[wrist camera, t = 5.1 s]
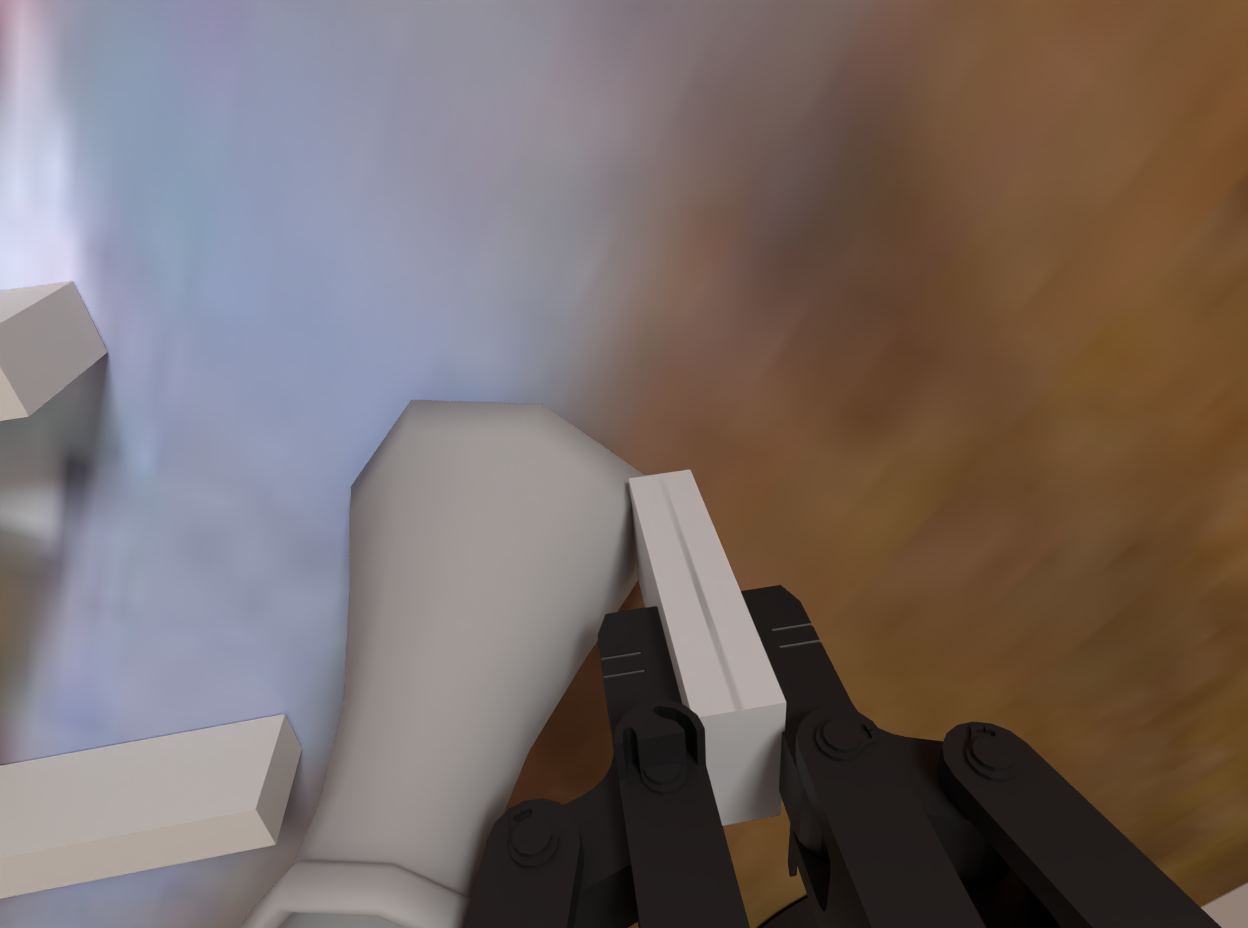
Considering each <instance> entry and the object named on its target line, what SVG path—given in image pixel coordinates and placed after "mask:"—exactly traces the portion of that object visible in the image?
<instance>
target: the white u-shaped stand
mask: <svg viewBox="0 0 1248 928" xmlns="http://www.w3.org/2000/svg"><path fill="white" fill-rule="evenodd" d="M106 353H107V350H106V348H105V346H104V344H103V342H102V340H101V338H100V336H99V334H98V332H97V330H96V328H95V326H94V324H93V321H92V319H91V317H90V315H89V313H88V311H87V309H86V307H85V305H84V303H83V301H82V299H81V297H80V295H79V293H78V291H77V289H76V287H75V285H74V283H73V281H69V282H62V283H54V284H47V285H39V286H32V287H24V288H17V289H9V290H2V291H0V421H3V420H10V419H17V418H23V417H29V416H30V415H32V414H33V413H34V412H35V411H37V410H38V409H39V408H40V407H41V406H43V405H44V404H45V403H46V402H48V401H49V400H50V399H51V398H52V397H54V396H55V395H56V394H57V393H59V392H60V391H61V390H62V389H63V388H65V387H66V386H67V385H68V384H69V383H71V382H72V381H73V380H74V379H76V378H77V377H78V376H79V375H80V374H82V373H83V372H84V371H85V370H87V369H88V368H89V367H90V366H91V365H93V364H94V363H95V362H96V361H98V360H99V359H100V358H101V357H102V356H104V355H105V354H106ZM301 751H302V748H301V746H300V744H299V742H298V740H297V737H296V735H295V733H294V731H293V729H292V727H291V725H290V723H289V721H288V719H287V717H286V715H285V714H282V715H277V716H271V717H266V718H260V719H255V720H249V721H244V722H238V723H233V724H227V725H222V726H216V727H211V728H205V729H200V730H194V731H189V732H183V733H178V734H172V735H167V736H162V737H156V738H151V739H145V740H140V741H134V742H129V743H123V744H118V745H112V746H107V747H101V748H96V749H90V750H85V751H79V752H74V753H68V754H63V755H57V756H52V757H46V758H41V759H35V760H30V761H24V762H19V763H13V764H8V765H2V766H0V899H1V898H6V897H11V896H16V895H21V894H27V893H32V892H37V891H42V890H47V889H52V888H57V887H62V886H67V885H73V884H78V883H83V882H88V881H93V880H98V879H103V878H108V877H113V876H119V875H124V874H129V873H134V872H139V871H144V870H149V869H154V868H160V867H165V866H170V865H175V864H180V863H185V862H190V861H195V860H200V859H206V858H211V857H216V856H221V855H226V854H231V853H236V852H241V851H246V850H252V849H257V848H262V847H267V846H272V845H276V843H277V839H278V836H279V832H280V828H281V824H282V821H283V817H284V813H285V810H286V806H287V802H288V799H289V795H290V791H291V788H292V784H293V780H294V776H295V773H296V769H297V765H298V762H299V758H300V754H301Z"/></svg>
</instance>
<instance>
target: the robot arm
mask: <svg viewBox="0 0 1248 928" xmlns="http://www.w3.org/2000/svg"><path fill="white" fill-rule="evenodd" d="M629 489H630V497H631V504H632V519H633V534H634V546H635V557H636V568H637V576H638V580H639V585H640V589H641V593H642V597H643V602H644V606H645V608H640V609H634V610H627V611H621V612H614V613H608V614H605V616H604V619H603V622H602V624H601V627H600V630H599V632H598V642H599V650H600V657H601V665H602V673H603V680H604V688H605V695H606V701H607V708H608V715H609V722H610V729H611V735H612V742H613V749H614V757H613V760H612V764H611V767H610V769H609V771H608V772H607V774H606V776H605V777H604V779H603V780H602V781H601V782H600V783H599V784H598V785H597V786H596V787H595V788H593V789H592V790H590V791H589V792H587V793H586V794H584V795H583V796H581V797H579V798H577V799H575V800H573V801H571V802H569V803H567V804H565V805H561V804H560V803H558V802H554V801H550V800H546V799H536V800H528V801H524V802H522V803H520V804H518V805H516V806H514V807H512V808H510V809H508V810H507V811H506V812H505V813H504V814H503V815H502V816H501V817H500V818H499V819H498V820H497V821H496V822H495V824H494V826H493V828H492V830H491V832H490V834H489V836H488V838H487V841H486V845H485V849H484V852H483V856H482V860H481V863H480V867H479V871H478V874H477V878H476V882H475V885H474V889H473V893H472V896H471V900H470V904H469V907H468V911H467V915H466V918H465V922H464V926H463V928H628V927H629V926H631V925H633V924H634V923H636V922H638V926H639V928H750V927H749V923H748V920H747V916H746V912H745V908H744V905H743V901H742V897H741V893H740V890H739V886H738V882H737V878H736V875H735V871H734V867H733V864H732V860H731V856H730V852H729V849H728V845H727V841H726V837H725V834H724V830H723V825H729V824H735V823H740V822H745V821H750V820H756V819H761V818H767V817H773V816H778V815H780V810H781V797H782V800H783V803H784V806H785V808H786V811H787V814H788V817H789V820H790V838H789V852H788V867H789V875H790V877H791V876H796V875H797V866H798V869H799V872H800V875H801V878H802V881H803V883H804V886H805V889H806V892H807V895H808V898H806V899H805V900H803V901H801V902H799V903H797V904H796V905H794V906H792V907H791V908H789V909H788V910H786V911H784V912H783V913H781V914H780V915H779V916H777V917H776V918H774V919H773V920H772V921H770V922H769V923H768V924H766V925H765V926H764V927H763V928H1221V927H1220V926H1219V925H1218V924H1217V923H1216V922H1215V921H1214V920H1213V919H1212V918H1211V917H1210V916H1209V915H1208V914H1207V913H1206V912H1205V911H1203V910H1202V909H1201V908H1200V907H1199V906H1198V905H1197V904H1196V903H1195V902H1194V901H1193V900H1192V899H1191V898H1190V897H1189V896H1188V895H1187V894H1186V893H1184V892H1183V891H1182V890H1181V889H1180V888H1179V887H1178V886H1177V885H1176V884H1175V883H1174V882H1173V881H1172V880H1171V879H1170V878H1169V877H1168V876H1167V875H1165V874H1164V873H1163V872H1162V871H1161V870H1160V869H1159V868H1158V867H1157V866H1156V865H1155V864H1154V863H1153V862H1152V861H1151V860H1150V859H1149V858H1148V857H1146V856H1145V855H1144V854H1143V853H1142V852H1141V851H1140V850H1139V849H1138V848H1137V847H1136V846H1135V845H1134V844H1133V843H1132V842H1131V841H1130V840H1128V839H1127V838H1126V837H1125V836H1124V835H1123V834H1122V833H1121V832H1120V831H1119V830H1118V829H1117V828H1116V827H1115V826H1114V825H1113V824H1112V823H1111V822H1109V821H1108V820H1107V819H1106V818H1105V817H1104V816H1103V815H1102V814H1101V813H1100V812H1099V811H1098V810H1097V809H1096V808H1095V807H1094V806H1093V805H1092V804H1090V803H1089V802H1088V801H1087V800H1086V799H1085V798H1084V797H1083V796H1082V795H1081V794H1080V793H1079V792H1078V791H1077V790H1076V789H1075V788H1074V787H1073V786H1071V785H1070V784H1069V783H1068V782H1067V781H1066V780H1065V779H1064V778H1063V777H1062V776H1061V775H1060V774H1059V773H1058V772H1057V771H1056V770H1055V769H1053V768H1052V767H1051V766H1050V765H1049V764H1048V763H1047V762H1046V761H1045V760H1044V759H1043V758H1042V757H1041V756H1040V755H1039V754H1038V753H1037V752H1036V751H1034V750H1033V749H1032V748H1031V747H1030V746H1029V745H1028V744H1027V743H1026V742H1025V741H1023V740H1022V739H1020V738H1019V737H1018V736H1016V735H1015V734H1014V733H1012V732H1011V731H1009V730H1006V729H1004V728H1001V727H999V726H996V725H994V724H990V723H981V722H969V723H965V724H960V725H957V726H956V727H954V728H953V729H952V730H950V731H949V732H948V733H947V734H946V737H945V739H944V742H943V741H935V740H926V739H918V738H910V737H904V736H899V735H894V734H891V733H889V732H886V731H884V730H882V729H879V728H878V727H877V726H876V725H875V724H874V722H873V721H871V720H870V719H868V718H867V717H865V716H864V715H862V714H861V713H859V712H858V711H857V710H856V708H855V707H854V705H853V704H852V702H851V700H850V698H849V696H848V694H847V692H846V690H845V688H844V686H843V684H842V683H841V681H840V679H839V677H838V675H837V673H836V671H835V669H834V667H833V665H832V663H831V661H830V659H829V657H828V655H827V653H826V651H825V649H824V647H823V645H822V643H820V642H819V637H818V635H817V633H816V631H815V629H814V628H813V626H811V622H810V620H809V618H808V616H807V614H806V612H805V610H804V608H803V606H802V604H801V602H800V601H799V600H798V599H797V598H796V597H794V596H793V595H792V594H791V593H790V592H788V591H787V590H786V589H785V588H784V587H782V586H781V585H778V586H771V587H765V588H758V589H752V590H745V591H740V589H739V587H738V584H737V582H736V579H735V577H734V574H733V572H732V570H731V567H730V565H729V562H728V560H727V558H726V555H725V553H724V550H723V548H722V545H721V543H720V541H719V538H718V536H717V533H716V531H715V528H714V526H713V524H712V521H711V519H710V516H709V514H708V512H707V509H706V507H705V504H704V502H703V499H702V497H701V495H700V492H699V490H698V487H697V485H696V482H695V480H694V478H693V475H692V473H691V470H684V471H677V472H670V473H663V474H656V475H649V476H642V477H635V478H629Z"/></svg>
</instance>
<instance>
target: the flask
mask: <svg viewBox="0 0 1248 928" xmlns="http://www.w3.org/2000/svg"><path fill="white" fill-rule="evenodd" d="M642 476H645V475H644V474H642V473H641V472H639V471H638V470H636V469H635V468H634V467H632V466H631V465H629V464H628V463H626V462H625V461H623V460H622V459H621V458H619V457H618V456H616V455H615V454H613V453H612V452H610V451H609V450H608V449H606V448H605V447H603V446H602V445H600V444H599V443H597V442H596V441H595V440H593V439H592V438H590V437H589V436H587V435H586V434H584V433H583V432H582V431H580V430H579V429H577V428H576V427H574V426H573V425H571V424H570V423H569V422H567V421H566V420H564V419H563V418H561V417H560V416H558V415H557V414H556V413H554V412H553V411H551V410H550V409H548V408H547V407H545V406H544V405H543V404H527V403H495V402H463V401H432V400H411V401H410V402H409V404H408V405H407V407H406V408H405V410H404V411H403V413H402V414H401V415H400V417H399V418H398V420H397V421H396V423H395V424H394V425H393V427H392V428H391V430H390V431H389V433H388V434H387V436H386V437H385V438H384V440H383V441H382V443H381V444H380V446H379V447H378V448H377V450H376V451H375V453H374V454H373V456H372V457H371V459H370V460H369V461H368V463H367V464H366V466H365V467H364V469H363V470H362V472H361V473H360V474H359V476H358V477H357V479H356V480H355V482H354V483H353V484H352V486H351V500H350V592H349V610H348V628H347V646H346V663H345V681H344V699H343V707H342V711H341V715H340V719H339V723H338V727H337V732H336V736H335V740H334V744H333V748H332V753H331V757H330V761H329V765H328V769H327V773H326V778H325V782H324V786H323V790H322V794H321V798H320V803H319V805H318V807H317V810H316V812H315V814H314V817H313V819H312V822H311V824H310V826H309V829H308V831H307V833H306V836H305V838H304V840H303V843H302V845H301V848H300V850H299V852H298V855H297V857H296V859H295V862H294V864H293V866H292V868H291V869H290V870H289V871H288V872H287V873H286V874H285V875H284V876H283V877H282V878H281V879H280V880H279V881H278V882H277V883H276V884H275V885H274V886H273V887H272V889H271V890H270V891H269V892H268V893H267V894H266V895H265V896H264V897H263V898H262V899H261V900H260V901H259V902H258V903H257V904H256V905H255V906H254V907H253V909H252V910H251V912H250V913H249V914H248V916H247V917H246V919H245V920H244V921H243V923H242V924H241V925H240V928H463V926H464V922H465V918H466V915H467V911H468V907H469V904H470V900H471V896H472V893H473V889H474V885H475V882H476V878H477V874H478V871H479V867H480V863H481V860H482V856H483V852H484V849H485V845H486V841H487V838H488V836H489V834H490V832H491V830H492V828H493V826H494V824H495V822H496V821H497V820H498V819H499V818H500V817H501V816H502V815H503V814H504V812H505V810H506V807H507V805H508V802H509V800H510V797H511V795H512V792H513V790H514V787H515V785H516V782H517V780H518V777H519V775H520V772H521V770H522V767H523V765H524V762H525V760H526V757H527V755H528V752H529V750H530V749H531V747H532V746H533V744H534V742H535V741H536V739H537V737H538V736H539V734H540V732H541V731H542V729H543V728H544V726H545V724H546V723H547V721H548V719H549V718H550V716H551V714H552V713H553V711H554V710H555V708H556V706H557V705H558V703H559V701H560V700H561V698H562V696H563V695H564V693H565V692H566V690H567V688H568V687H569V685H570V683H571V682H572V680H573V678H574V677H575V675H576V673H577V672H578V670H579V669H580V667H581V665H582V664H583V662H584V660H585V659H586V657H587V656H588V654H589V653H590V651H591V650H592V648H593V647H594V645H595V644H596V642H597V641H598V632H599V630H600V627H601V624H602V622H603V619H604V616H605V614H608V613H614V612H618V610H619V609H620V607H621V606H622V604H623V603H624V601H625V600H626V598H627V597H628V595H629V594H630V592H631V590H632V589H633V587H634V586H635V584H636V582H637V581H638V576H637V568H636V557H635V546H634V534H633V519H632V504H631V497H630V489H629V478H635V477H642Z"/></svg>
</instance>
